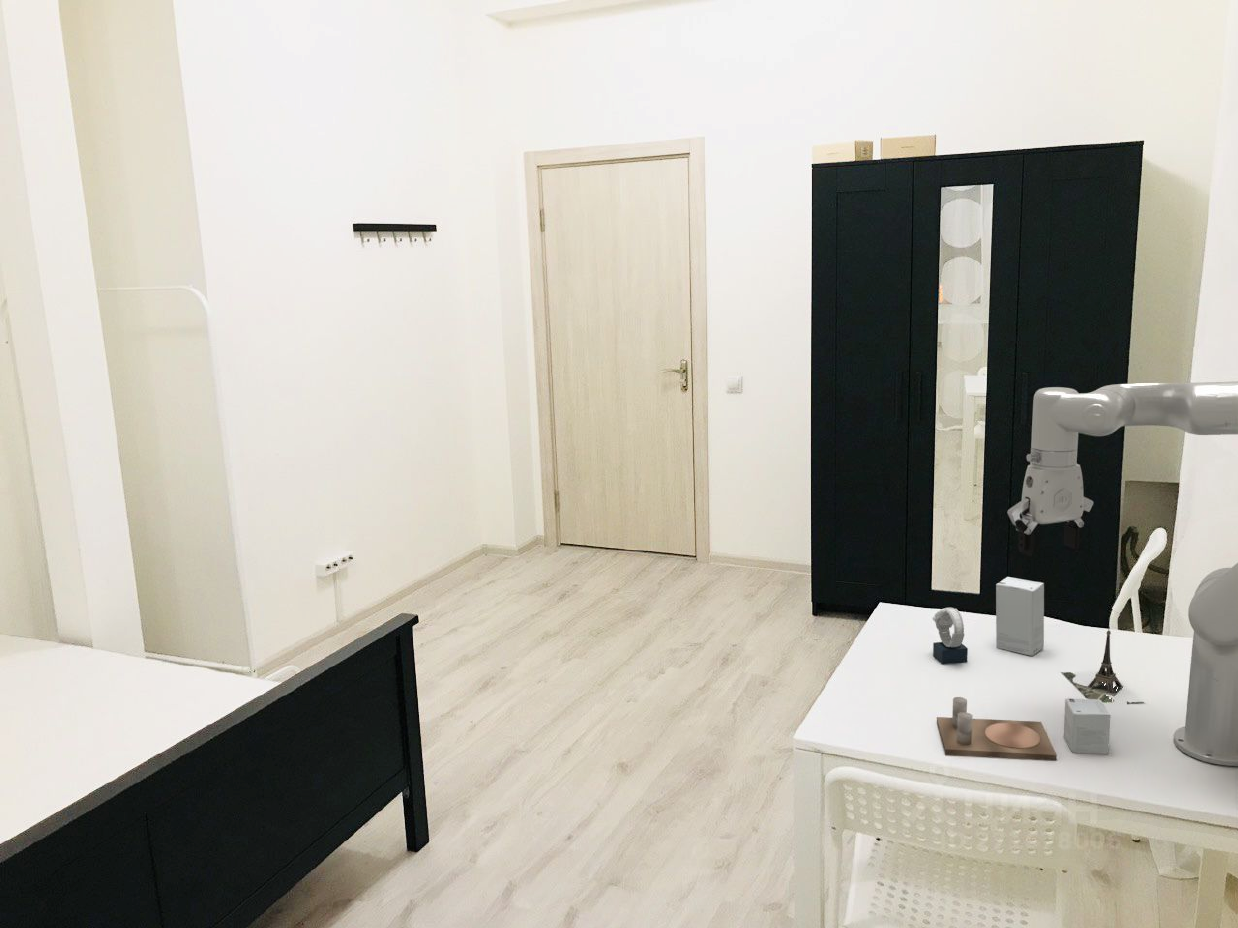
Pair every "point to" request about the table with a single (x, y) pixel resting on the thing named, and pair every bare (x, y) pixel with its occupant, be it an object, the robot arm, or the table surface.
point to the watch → (950, 647)
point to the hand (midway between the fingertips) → (1048, 550)
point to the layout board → (992, 736)
